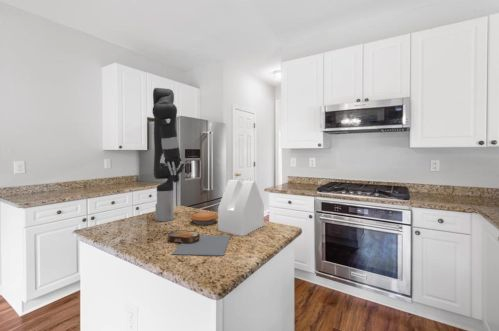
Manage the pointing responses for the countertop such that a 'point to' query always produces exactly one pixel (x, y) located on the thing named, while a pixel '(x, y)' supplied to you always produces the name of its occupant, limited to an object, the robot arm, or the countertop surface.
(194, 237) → the tin
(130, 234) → the countertop surface
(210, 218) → the pie
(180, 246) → the mat
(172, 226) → the countertop surface
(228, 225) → the milk carton
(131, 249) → the countertop surface
